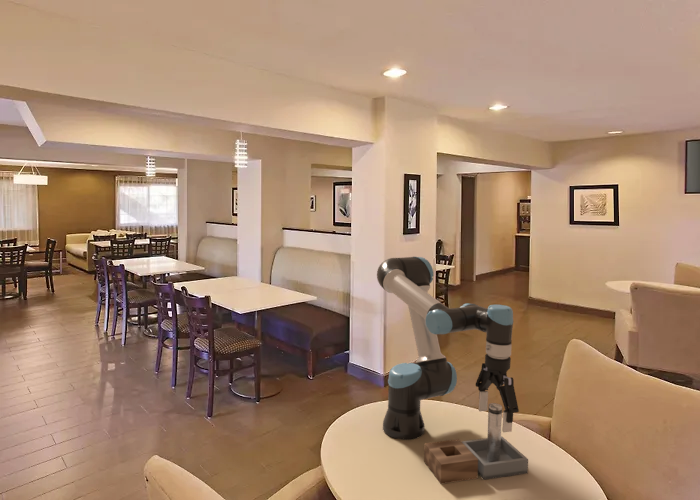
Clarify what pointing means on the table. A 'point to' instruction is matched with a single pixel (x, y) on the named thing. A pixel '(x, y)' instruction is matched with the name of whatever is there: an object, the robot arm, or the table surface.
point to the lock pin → (494, 432)
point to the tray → (507, 466)
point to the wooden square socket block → (450, 461)
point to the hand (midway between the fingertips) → (494, 420)
